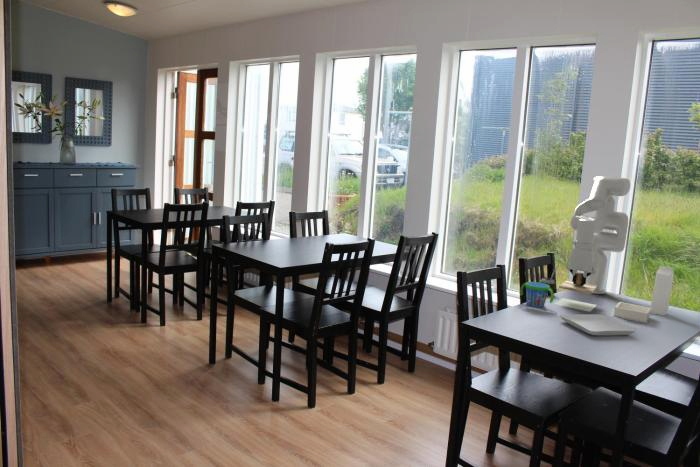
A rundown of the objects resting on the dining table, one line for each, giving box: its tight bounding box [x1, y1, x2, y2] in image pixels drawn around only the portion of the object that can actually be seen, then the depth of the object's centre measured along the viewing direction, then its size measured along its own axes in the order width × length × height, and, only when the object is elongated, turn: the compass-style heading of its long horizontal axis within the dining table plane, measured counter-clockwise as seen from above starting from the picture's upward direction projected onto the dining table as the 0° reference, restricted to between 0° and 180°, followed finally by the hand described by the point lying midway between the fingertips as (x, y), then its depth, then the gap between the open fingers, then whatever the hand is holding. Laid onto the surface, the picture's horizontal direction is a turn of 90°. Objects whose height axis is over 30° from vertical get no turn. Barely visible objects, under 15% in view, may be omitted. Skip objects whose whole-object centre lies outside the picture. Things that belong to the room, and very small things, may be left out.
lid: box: [558, 272, 597, 295], centre depth 272 cm, size 14×14×7 cm
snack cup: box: [519, 281, 555, 308], centre depth 266 cm, size 16×10×10 cm
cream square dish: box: [613, 301, 651, 325], centre depth 260 cm, size 13×13×4 cm
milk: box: [650, 265, 675, 317], centre depth 270 cm, size 6×6×22 cm
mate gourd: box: [539, 264, 560, 296], centre depth 290 cm, size 8×8×15 cm
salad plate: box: [559, 313, 637, 336], centre depth 238 cm, size 21×21×3 cm
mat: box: [553, 297, 597, 312], centre depth 273 cm, size 16×16×1 cm
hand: (578, 284), depth 273 cm, fingers closed on lid, 3 cm apart
